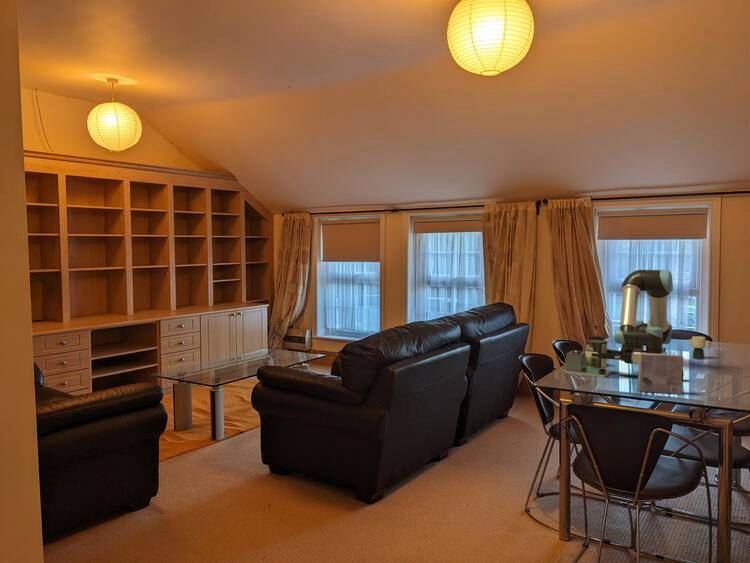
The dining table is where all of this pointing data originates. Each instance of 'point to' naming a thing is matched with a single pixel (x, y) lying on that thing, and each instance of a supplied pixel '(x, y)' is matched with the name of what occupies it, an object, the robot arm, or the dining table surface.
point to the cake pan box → (660, 373)
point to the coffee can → (596, 346)
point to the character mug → (698, 346)
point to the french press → (595, 335)
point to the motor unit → (582, 365)
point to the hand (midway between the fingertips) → (588, 352)
